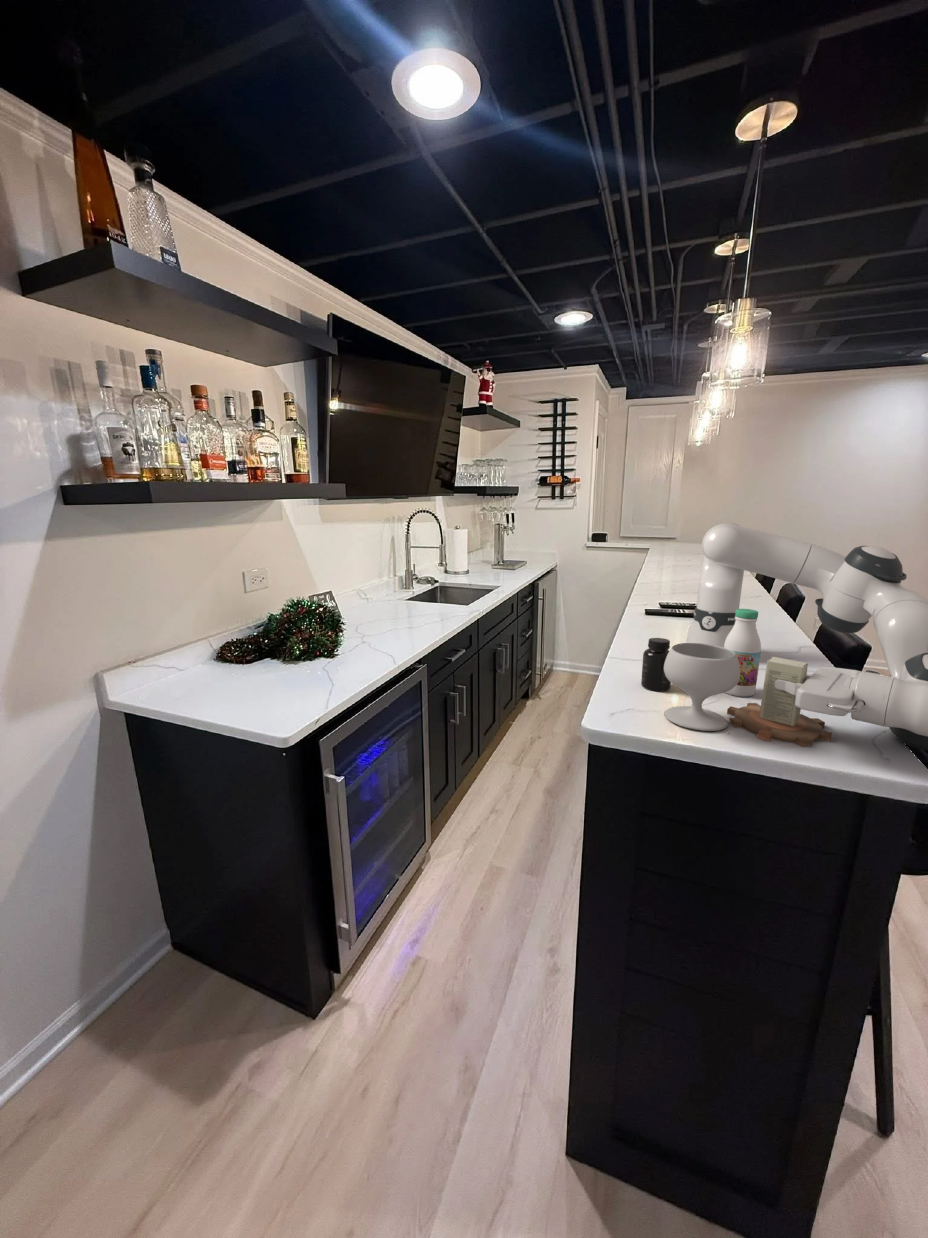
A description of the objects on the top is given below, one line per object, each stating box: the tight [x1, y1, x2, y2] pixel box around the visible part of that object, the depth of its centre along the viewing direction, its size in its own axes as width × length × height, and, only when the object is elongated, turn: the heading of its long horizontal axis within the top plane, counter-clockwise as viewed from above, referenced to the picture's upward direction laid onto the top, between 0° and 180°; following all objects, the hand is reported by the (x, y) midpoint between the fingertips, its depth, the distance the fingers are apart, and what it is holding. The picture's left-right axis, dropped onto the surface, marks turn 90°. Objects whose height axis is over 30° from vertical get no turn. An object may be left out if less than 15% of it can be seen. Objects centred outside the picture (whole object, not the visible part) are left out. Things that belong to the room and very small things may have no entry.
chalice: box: [663, 642, 740, 732], centre depth 101 cm, size 14×14×15 cm
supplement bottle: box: [640, 637, 672, 692], centre depth 121 cm, size 7×7×12 cm
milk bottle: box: [723, 608, 762, 698], centre depth 117 cm, size 8×8×20 cm
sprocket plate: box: [726, 702, 833, 747], centre depth 100 cm, size 18×18×1 cm
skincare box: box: [759, 656, 809, 726], centre depth 99 cm, size 6×4×12 cm
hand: (779, 679), depth 99 cm, fingers closed on skincare box, 4 cm apart
